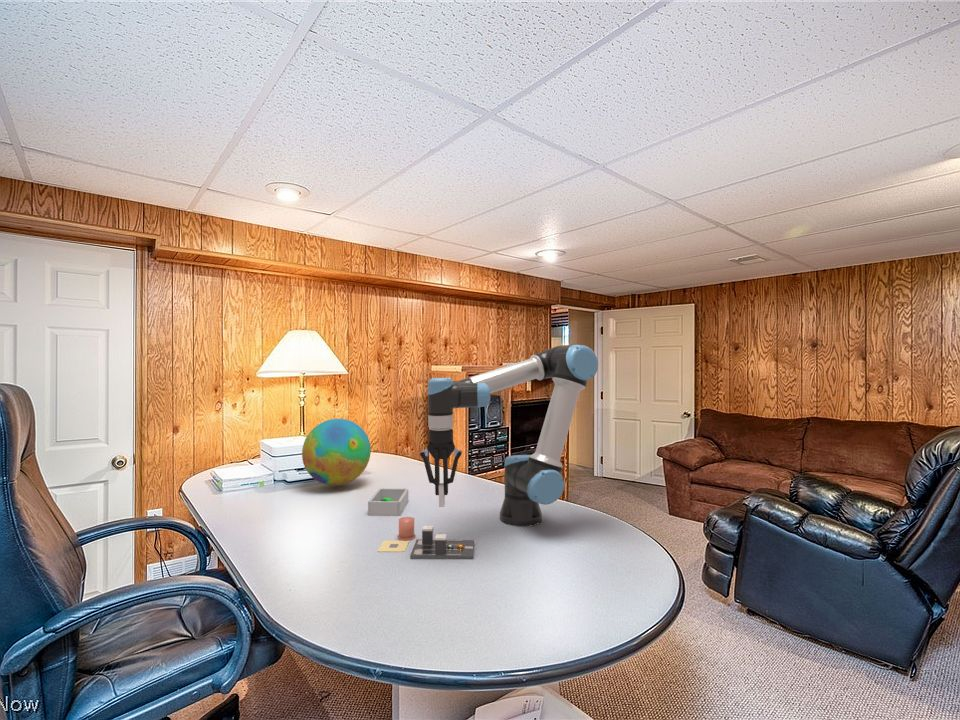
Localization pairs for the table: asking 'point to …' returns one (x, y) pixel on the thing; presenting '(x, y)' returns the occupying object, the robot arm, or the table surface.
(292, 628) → the table surface
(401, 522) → the cap
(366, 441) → the globe
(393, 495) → the parts corral
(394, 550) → the pad
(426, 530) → the toggle
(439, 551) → the toggle
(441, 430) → the robot arm
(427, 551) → the breaker panel
